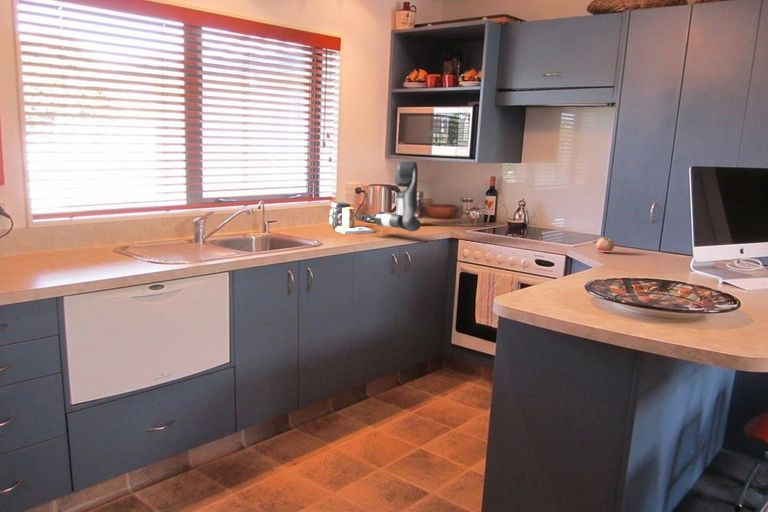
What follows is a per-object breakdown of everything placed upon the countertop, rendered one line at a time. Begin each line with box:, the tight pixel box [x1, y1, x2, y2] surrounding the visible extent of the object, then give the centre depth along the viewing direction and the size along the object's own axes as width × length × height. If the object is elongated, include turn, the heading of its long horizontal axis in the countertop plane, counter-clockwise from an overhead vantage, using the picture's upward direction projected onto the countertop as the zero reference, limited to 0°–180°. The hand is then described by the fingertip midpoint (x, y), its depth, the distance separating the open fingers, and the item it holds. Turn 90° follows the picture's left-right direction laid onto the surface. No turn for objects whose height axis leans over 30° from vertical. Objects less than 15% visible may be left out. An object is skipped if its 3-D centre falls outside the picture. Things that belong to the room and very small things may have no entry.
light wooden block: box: [342, 206, 356, 229], centre depth 343 cm, size 5×5×12 cm
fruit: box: [596, 236, 615, 252], centre depth 314 cm, size 8×8×8 cm
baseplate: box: [334, 226, 374, 235], centre depth 346 cm, size 18×12×2 cm, turn 119°
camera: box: [328, 201, 351, 229], centre depth 354 cm, size 10×10×15 cm
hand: (362, 216), depth 337 cm, fingers open, 8 cm apart
